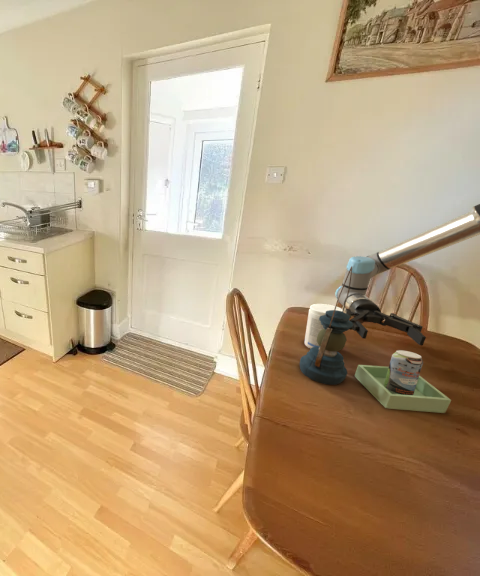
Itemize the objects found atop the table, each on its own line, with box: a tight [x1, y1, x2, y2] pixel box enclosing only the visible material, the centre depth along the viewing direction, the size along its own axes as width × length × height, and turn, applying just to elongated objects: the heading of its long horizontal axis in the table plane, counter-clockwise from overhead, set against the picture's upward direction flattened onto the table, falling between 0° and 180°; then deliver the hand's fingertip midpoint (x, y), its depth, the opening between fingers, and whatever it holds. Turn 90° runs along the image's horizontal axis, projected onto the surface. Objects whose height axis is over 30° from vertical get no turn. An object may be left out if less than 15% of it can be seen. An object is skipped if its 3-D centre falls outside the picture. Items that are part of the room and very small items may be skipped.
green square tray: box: [354, 364, 452, 414], centre depth 87 cm, size 14×14×4 cm
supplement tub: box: [303, 303, 344, 350], centre depth 108 cm, size 10×10×15 cm
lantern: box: [299, 266, 353, 386], centre depth 90 cm, size 14×12×35 cm
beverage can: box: [384, 349, 424, 395], centre depth 85 cm, size 6×7×12 cm
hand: (393, 337), depth 91 cm, fingers open, 13 cm apart
